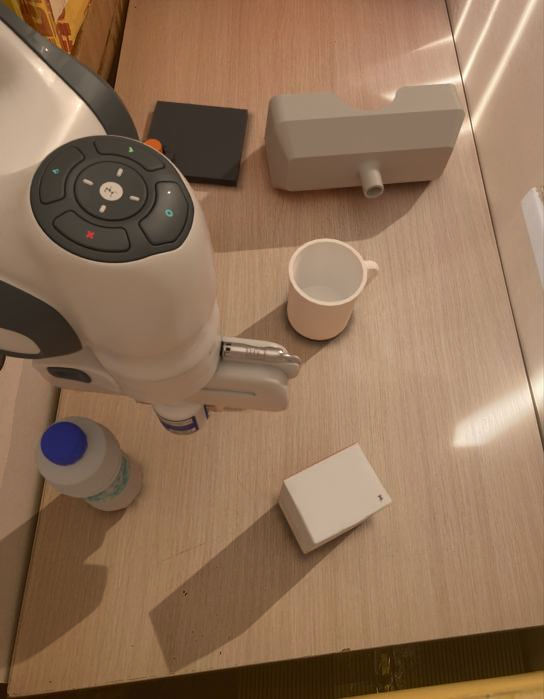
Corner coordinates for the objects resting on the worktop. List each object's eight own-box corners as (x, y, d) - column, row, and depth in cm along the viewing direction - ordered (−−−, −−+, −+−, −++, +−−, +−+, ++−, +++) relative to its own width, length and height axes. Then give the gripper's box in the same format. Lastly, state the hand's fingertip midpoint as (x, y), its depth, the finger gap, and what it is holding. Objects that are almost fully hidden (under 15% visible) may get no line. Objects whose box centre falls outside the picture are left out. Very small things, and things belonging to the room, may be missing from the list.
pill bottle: (181, 377, 56) (170, 342, 48) (221, 406, 55) (217, 374, 47) (147, 417, 54) (130, 387, 46) (188, 447, 53) (178, 422, 45)
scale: (134, 181, 78) (130, 166, 75) (153, 107, 84) (150, 91, 81) (235, 191, 78) (235, 176, 75) (247, 116, 84) (247, 100, 81)
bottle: (130, 443, 62) (79, 383, 44) (157, 494, 60) (115, 452, 42) (76, 475, 60) (-1, 426, 42) (102, 528, 58) (33, 500, 40)
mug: (294, 352, 67) (301, 313, 58) (275, 292, 71) (279, 247, 61) (376, 332, 69) (395, 291, 60) (353, 274, 72) (368, 228, 63)
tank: (277, 228, 75) (282, 164, 64) (263, 142, 81) (265, 70, 70) (449, 214, 77) (484, 149, 66) (423, 131, 84) (450, 58, 72)
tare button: (143, 161, 76) (140, 151, 74) (146, 147, 77) (144, 137, 75) (161, 163, 76) (159, 153, 74) (164, 149, 77) (162, 139, 75)
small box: (338, 468, 62) (358, 440, 50) (367, 520, 59) (395, 502, 48) (275, 501, 60) (281, 479, 48) (302, 555, 58) (315, 546, 46)
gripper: (307, 316, 40) (291, 381, 53) (32, 285, 40) (83, 358, 52) (300, 396, 37) (286, 444, 50) (7, 364, 37) (67, 420, 50)
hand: (180, 400), depth 51 cm, fingers closed on pill bottle, 5 cm apart
